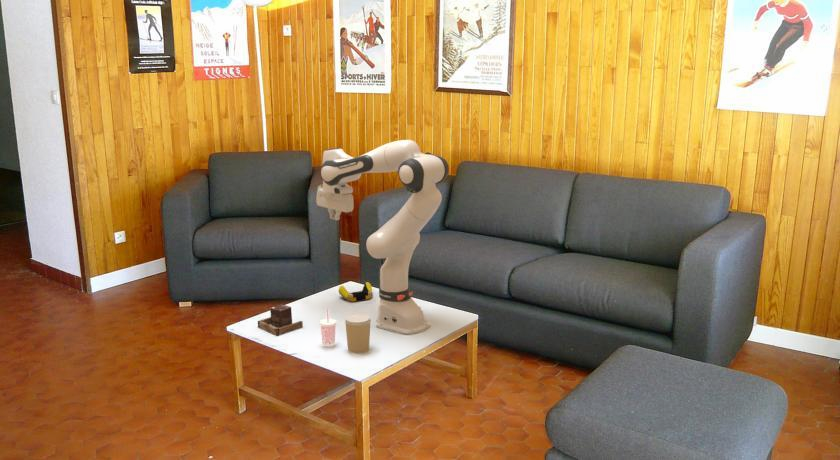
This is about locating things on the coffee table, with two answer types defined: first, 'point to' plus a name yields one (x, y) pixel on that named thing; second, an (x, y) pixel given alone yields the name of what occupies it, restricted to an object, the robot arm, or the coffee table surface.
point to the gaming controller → (357, 293)
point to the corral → (266, 326)
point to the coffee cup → (358, 332)
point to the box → (281, 315)
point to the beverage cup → (328, 331)
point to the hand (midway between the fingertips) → (334, 219)
